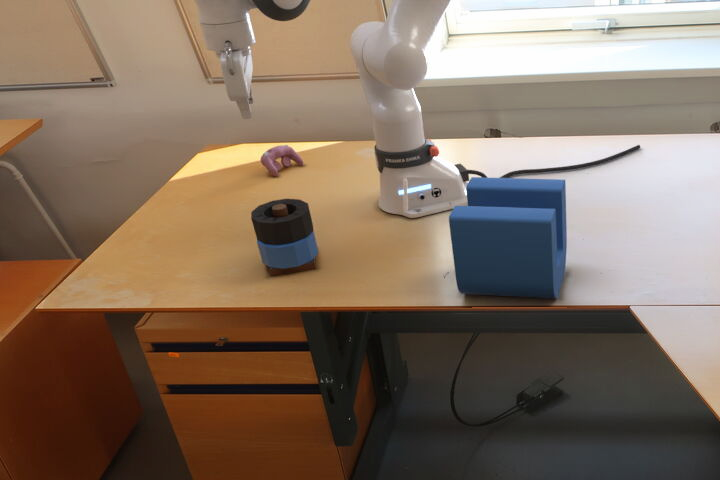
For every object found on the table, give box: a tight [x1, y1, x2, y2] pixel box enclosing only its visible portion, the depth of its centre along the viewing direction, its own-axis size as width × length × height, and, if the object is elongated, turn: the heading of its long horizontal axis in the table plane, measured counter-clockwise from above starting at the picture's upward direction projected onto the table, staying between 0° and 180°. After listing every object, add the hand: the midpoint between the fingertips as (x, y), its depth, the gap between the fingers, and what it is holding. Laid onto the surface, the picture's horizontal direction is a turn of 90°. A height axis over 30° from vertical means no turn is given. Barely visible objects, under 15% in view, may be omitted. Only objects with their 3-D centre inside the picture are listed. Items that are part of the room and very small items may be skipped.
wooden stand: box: [268, 204, 317, 277], centre depth 158 cm, size 9×9×12 cm
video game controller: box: [260, 144, 304, 177], centre depth 202 cm, size 10×5×7 cm, turn 144°
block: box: [448, 176, 568, 299], centre depth 146 cm, size 18×18×18 cm
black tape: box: [250, 198, 315, 245], centre depth 158 cm, size 11×11×5 cm
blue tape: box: [256, 231, 319, 269], centre depth 160 cm, size 11×11×5 cm
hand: (248, 110), depth 152 cm, fingers open, 8 cm apart
